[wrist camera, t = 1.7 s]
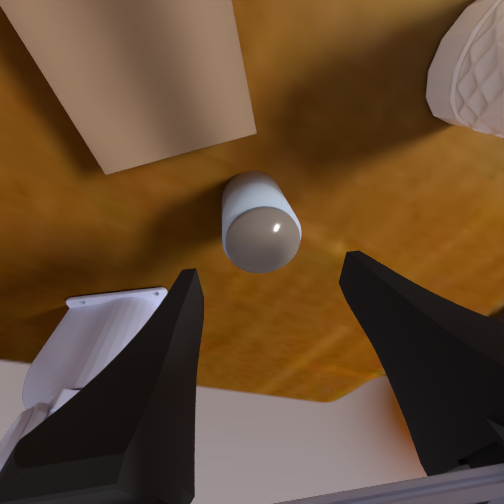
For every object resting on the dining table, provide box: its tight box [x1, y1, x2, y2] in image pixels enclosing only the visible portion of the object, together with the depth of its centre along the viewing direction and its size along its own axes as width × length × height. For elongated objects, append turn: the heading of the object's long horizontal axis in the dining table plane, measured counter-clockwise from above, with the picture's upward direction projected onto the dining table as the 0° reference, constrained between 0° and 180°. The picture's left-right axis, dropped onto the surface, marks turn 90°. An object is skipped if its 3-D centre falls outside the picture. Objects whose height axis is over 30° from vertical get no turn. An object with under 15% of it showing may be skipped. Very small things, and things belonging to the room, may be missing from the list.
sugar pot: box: [222, 171, 301, 273], centre depth 16 cm, size 5×5×6 cm
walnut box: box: [0, 0, 257, 175], centre depth 11 cm, size 9×9×3 cm
